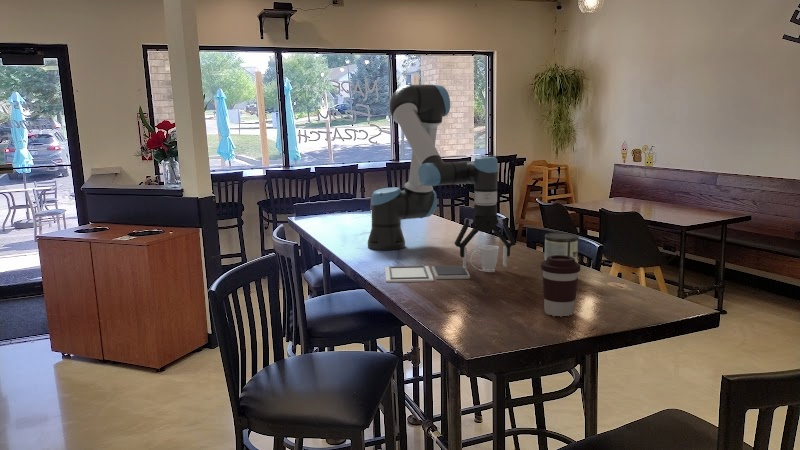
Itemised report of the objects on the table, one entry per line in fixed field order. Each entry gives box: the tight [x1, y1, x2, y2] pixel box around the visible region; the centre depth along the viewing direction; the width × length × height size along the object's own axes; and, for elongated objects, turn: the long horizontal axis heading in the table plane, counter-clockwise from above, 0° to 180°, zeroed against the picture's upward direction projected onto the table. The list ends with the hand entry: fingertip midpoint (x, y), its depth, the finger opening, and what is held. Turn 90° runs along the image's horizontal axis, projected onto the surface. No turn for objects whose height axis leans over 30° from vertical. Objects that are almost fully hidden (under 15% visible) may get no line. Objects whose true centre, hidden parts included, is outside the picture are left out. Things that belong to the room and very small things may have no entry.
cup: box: [469, 244, 500, 273], centre depth 202 cm, size 7×10×8 cm
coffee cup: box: [540, 255, 581, 318], centre depth 157 cm, size 10×10×15 cm
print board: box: [384, 265, 434, 283], centre depth 199 cm, size 18×15×1 cm
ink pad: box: [431, 264, 471, 280], centre depth 199 cm, size 13×11×1 cm
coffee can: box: [543, 232, 579, 263], centre depth 191 cm, size 10×10×14 cm
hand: (484, 266), depth 203 cm, fingers open, 13 cm apart
